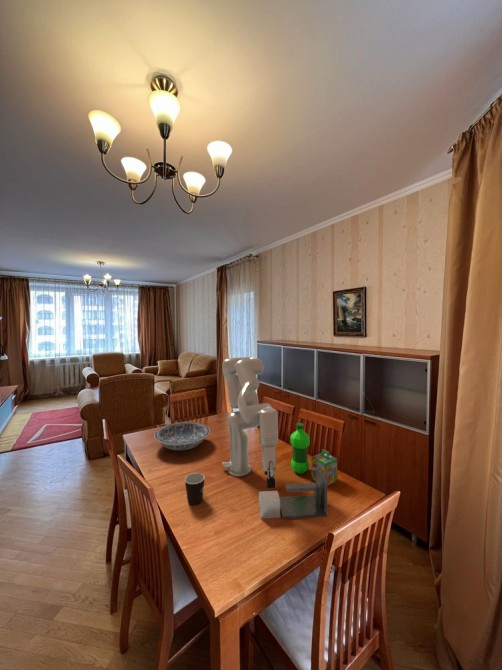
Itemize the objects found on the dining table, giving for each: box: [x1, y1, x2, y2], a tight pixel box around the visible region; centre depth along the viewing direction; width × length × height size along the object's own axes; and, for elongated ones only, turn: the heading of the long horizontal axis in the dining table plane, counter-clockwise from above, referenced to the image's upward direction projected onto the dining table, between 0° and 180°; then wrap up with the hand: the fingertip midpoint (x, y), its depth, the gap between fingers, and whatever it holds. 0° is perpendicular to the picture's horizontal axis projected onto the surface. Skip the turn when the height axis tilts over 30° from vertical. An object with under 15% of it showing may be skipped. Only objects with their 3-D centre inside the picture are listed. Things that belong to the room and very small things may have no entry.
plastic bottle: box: [289, 422, 311, 475], centre depth 141 cm, size 10×10×25 cm
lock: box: [258, 490, 281, 519], centre depth 111 cm, size 8×6×7 cm
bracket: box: [279, 467, 328, 520], centre depth 113 cm, size 18×12×14 cm, turn 93°
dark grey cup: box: [184, 472, 205, 506], centre depth 120 cm, size 12×9×10 cm
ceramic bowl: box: [153, 421, 211, 452], centre depth 172 cm, size 34×34×10 cm
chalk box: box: [310, 448, 338, 487], centre depth 133 cm, size 9×9×15 cm
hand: (269, 480), depth 110 cm, fingers open, 9 cm apart
